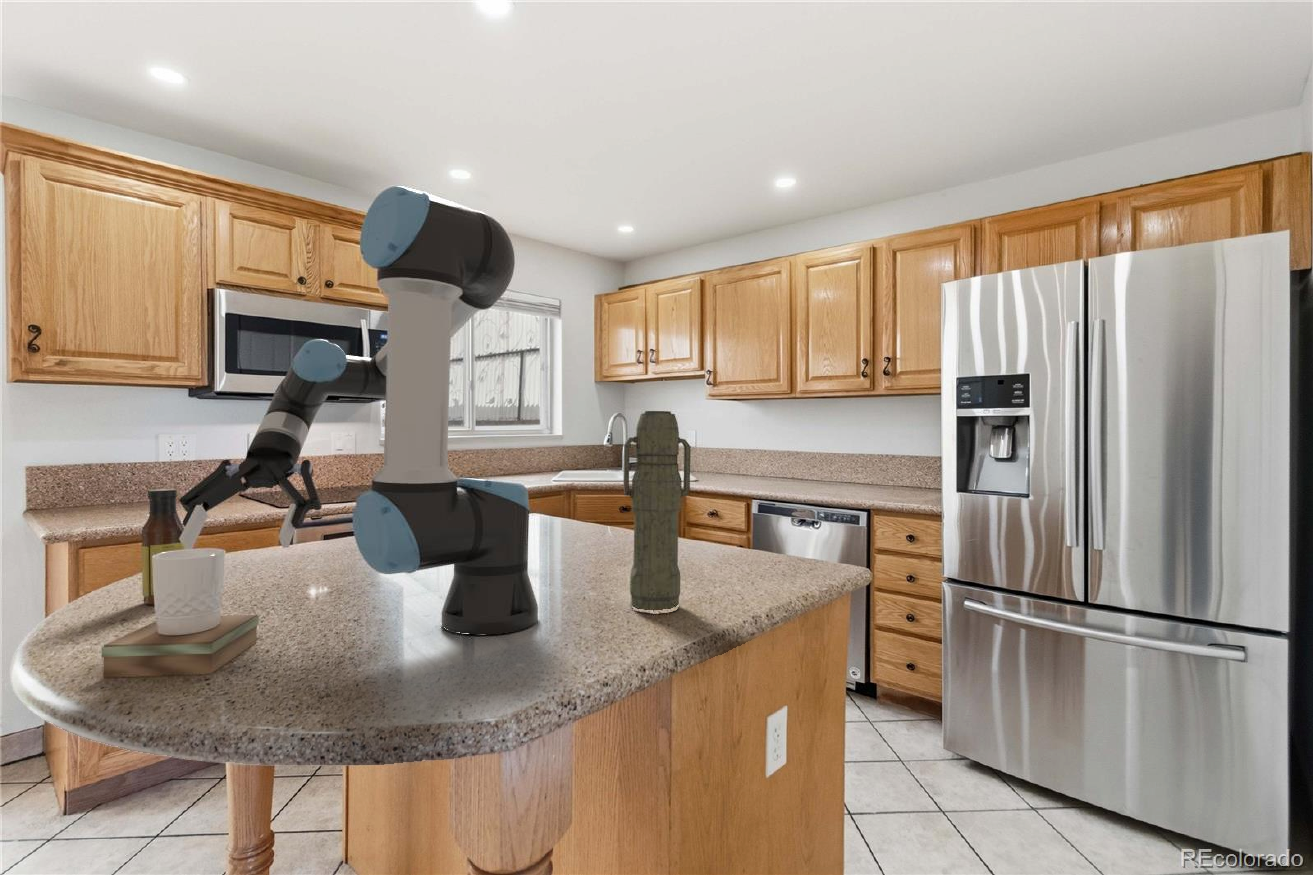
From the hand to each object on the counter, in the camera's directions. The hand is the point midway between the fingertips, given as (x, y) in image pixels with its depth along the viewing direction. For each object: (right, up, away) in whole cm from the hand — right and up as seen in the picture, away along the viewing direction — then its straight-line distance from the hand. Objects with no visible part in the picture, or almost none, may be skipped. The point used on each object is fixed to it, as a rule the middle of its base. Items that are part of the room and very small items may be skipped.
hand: (234, 543), depth 96 cm
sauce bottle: (-23, -13, +16) cm, 31 cm away
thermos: (+64, -14, +17) cm, 68 cm away
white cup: (+2, -9, -12) cm, 15 cm away
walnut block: (+2, -13, -12) cm, 18 cm away
